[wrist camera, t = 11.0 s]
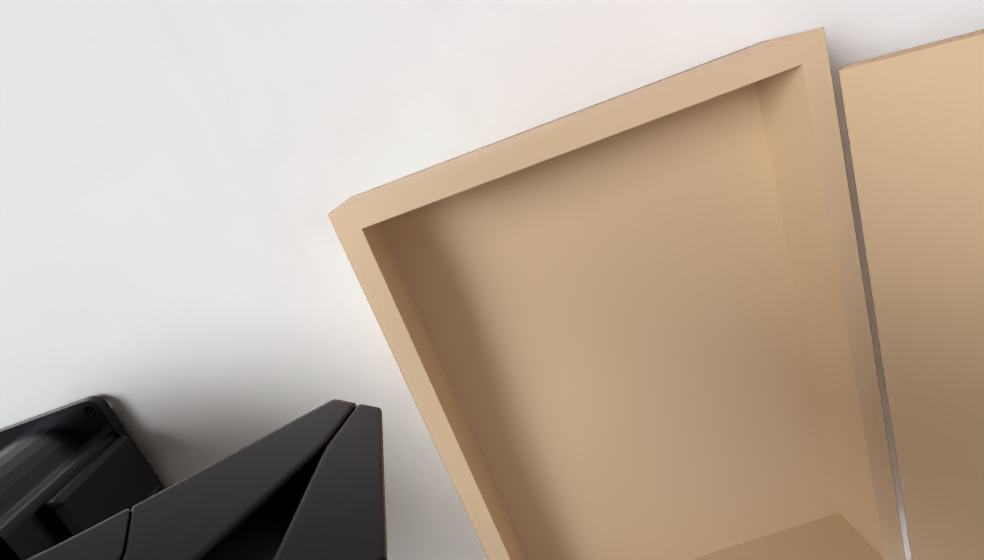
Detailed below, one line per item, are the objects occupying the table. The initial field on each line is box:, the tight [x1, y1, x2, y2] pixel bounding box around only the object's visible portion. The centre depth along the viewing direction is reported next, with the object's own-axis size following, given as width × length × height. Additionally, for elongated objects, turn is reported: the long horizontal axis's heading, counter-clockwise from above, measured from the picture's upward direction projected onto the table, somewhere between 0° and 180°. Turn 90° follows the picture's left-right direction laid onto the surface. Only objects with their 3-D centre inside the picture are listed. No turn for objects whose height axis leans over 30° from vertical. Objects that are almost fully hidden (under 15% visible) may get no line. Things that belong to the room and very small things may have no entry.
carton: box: [328, 27, 906, 560], centre depth 21 cm, size 16×22×4 cm
